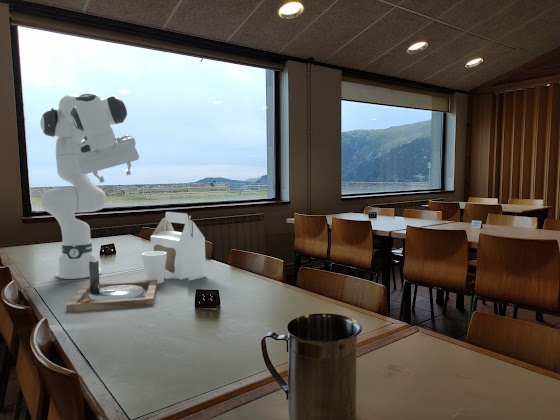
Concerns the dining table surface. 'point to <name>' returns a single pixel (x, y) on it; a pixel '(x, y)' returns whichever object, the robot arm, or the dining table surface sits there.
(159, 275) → the foam cup
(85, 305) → the wooden tray
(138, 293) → the dial
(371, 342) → the dining table surface
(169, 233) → the gable box
